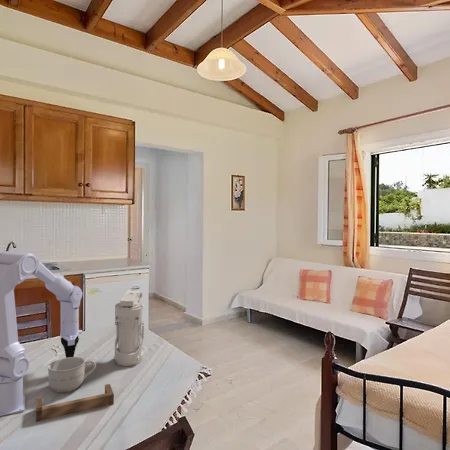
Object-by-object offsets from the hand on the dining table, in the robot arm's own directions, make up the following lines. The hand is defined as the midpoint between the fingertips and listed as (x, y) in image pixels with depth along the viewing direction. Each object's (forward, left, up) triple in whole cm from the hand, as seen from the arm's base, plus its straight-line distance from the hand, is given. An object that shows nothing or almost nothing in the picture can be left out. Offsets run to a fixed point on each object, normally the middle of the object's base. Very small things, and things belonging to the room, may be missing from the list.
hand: (69, 358), depth 123 cm
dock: (0, -24, -4) cm, 25 cm away
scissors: (-3, +15, -5) cm, 16 cm away
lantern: (+21, +1, -5) cm, 21 cm away
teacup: (0, -12, -5) cm, 13 cm away
